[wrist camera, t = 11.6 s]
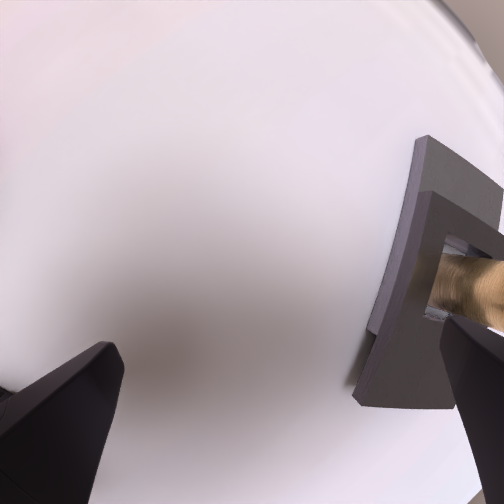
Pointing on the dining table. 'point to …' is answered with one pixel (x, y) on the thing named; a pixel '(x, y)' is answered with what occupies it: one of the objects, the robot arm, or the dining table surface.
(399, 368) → the grey rectangular frame
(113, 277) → the dining table surface
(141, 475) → the dining table surface
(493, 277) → the brass pin
